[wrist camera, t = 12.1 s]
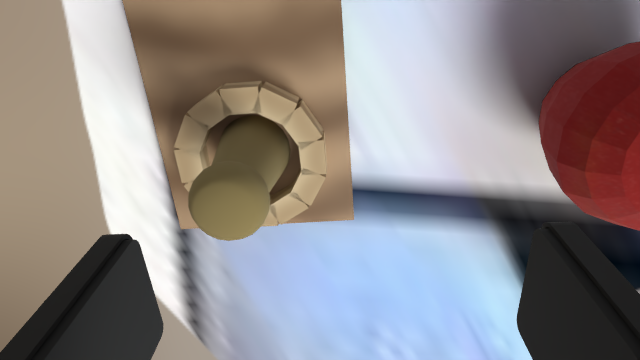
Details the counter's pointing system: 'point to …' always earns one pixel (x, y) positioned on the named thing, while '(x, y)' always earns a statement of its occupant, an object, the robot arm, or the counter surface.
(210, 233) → the cork
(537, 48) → the counter surface
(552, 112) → the apple
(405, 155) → the counter surface
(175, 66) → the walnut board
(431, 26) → the counter surface
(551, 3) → the counter surface
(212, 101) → the beech ring
